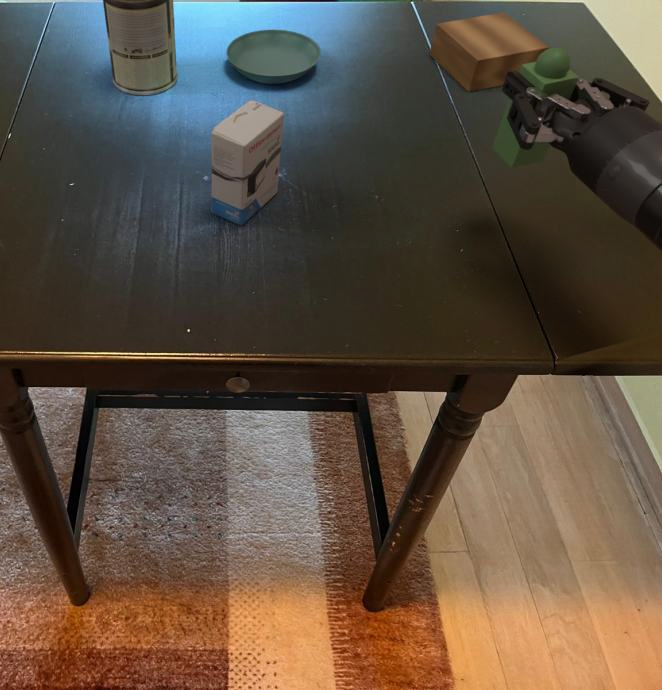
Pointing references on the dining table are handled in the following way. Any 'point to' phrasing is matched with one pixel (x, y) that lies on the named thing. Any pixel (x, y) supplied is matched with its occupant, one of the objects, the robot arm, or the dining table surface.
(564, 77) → the toy tower
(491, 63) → the wooden block
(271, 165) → the ink box
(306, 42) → the saucer
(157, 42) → the coffee can
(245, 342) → the dining table surface
